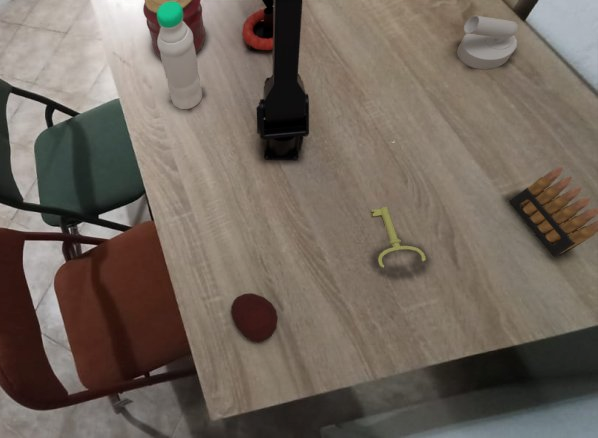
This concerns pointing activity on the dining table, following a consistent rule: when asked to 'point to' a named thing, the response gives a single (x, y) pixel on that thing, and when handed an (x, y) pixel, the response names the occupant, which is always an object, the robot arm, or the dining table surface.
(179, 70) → the water bottle
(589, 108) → the dining table surface
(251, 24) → the red ring
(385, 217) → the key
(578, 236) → the ammunition clip
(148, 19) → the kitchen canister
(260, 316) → the potato
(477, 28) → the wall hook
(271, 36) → the black angled piece
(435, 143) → the dining table surface
